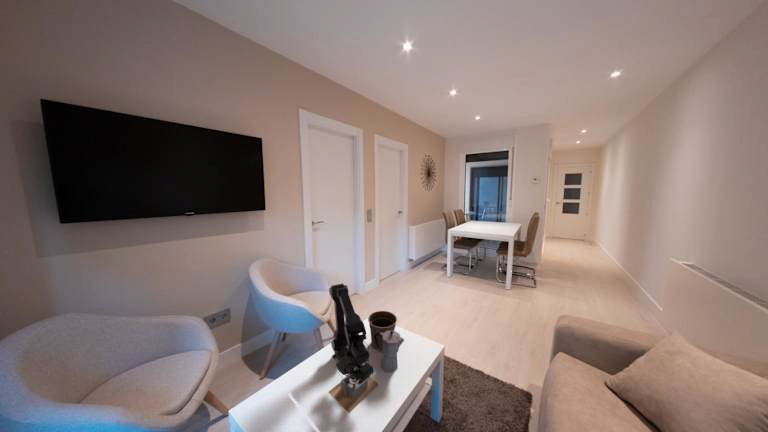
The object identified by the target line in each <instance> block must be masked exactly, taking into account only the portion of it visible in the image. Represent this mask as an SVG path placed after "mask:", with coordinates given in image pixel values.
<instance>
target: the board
mask: <svg viewBox="0 0 768 432" xmlns="http://www.w3.org/2000/svg"><path fill="white" fill-rule="evenodd" d="M367 380H368V387H367V388H366V389H365V390H364V391H363V392H362V393H361V394H360V395H359V396H358V397H357V398H356V399H355V400H352V399H351V398H350V397H349V396H345V395H344V394H343V390H342V389H341V381H340V382H339V383H337V384H336V385H335V386H334V387H333V388H331V389H330V390H329V391H328V393H329V395H331V397H332V398H333V399H334V400H336V402H337V403H338V404H339V405H340V406H341V407H342V408H343V409H344V410H345V411H346V412H347V413H348V414H351V412H352V411H353V410H354V409H356V407H357V406H359V404H361V403H362V402H363V401H364V400H365V399H366V398H367V397H368V396H369V395H370V394H371V393H372V392H373V391H374V390H375V389H376V388H377V387H378V386H379V385H380V384H379V383H378V382H377V381H376V380H375V379H373V378H372V377H371V375H370V376H369V377H368V378H367Z"/></svg>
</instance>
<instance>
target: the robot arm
mask: <svg viewBox="0 0 768 432" xmlns="http://www.w3.org/2000/svg"><path fill="white" fill-rule="evenodd" d="M328 292H329V296H330V298H331V300H332V301H333V302H334V317H335V331H334V333H333V340H331V341H330V345H331V348H332V350H333V352H334V353H333V355H331V357H332V359H334V360H337V362H336V364H335V367H336V368H337V371H338V372H340V373H341V375H342V376H343V375H344V376H345V375H349V374H350V373H351V371H353V370H355V371H354V372H353V373H354V374H355V379H356V382H357V381H358V380H359V378H361V379H362V380H366V379H367V378H368V377H369V376H370V377H371V375H373V374H374V370H375V369H374V366H373V365H371V364H370V363H368V361H369V359H370V352H369V350H368V349H367V347H366V345H365V344H364V340H367V331H366V327H365V323H364V321H363V320H362V319H361V317H360V314H359V315H358V314H357V313H356V312H355V309H354V307H353V304H352V303H353V302H352V301H351V298H350V294H349V288H348V285H344V283H339V284H334V285H333V284H332V285H331V286H330V288H329V289H328ZM361 333H362V334H361Z"/></svg>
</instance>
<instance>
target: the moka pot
mask: <svg viewBox="0 0 768 432" xmlns="http://www.w3.org/2000/svg"><path fill="white" fill-rule="evenodd" d="M377 335H378V336H380V337H382V343H383V352H382V354H381V359H380V369H381V370H382V371H383V372H386V373H389V374H391V373H393V372H395V371H397V370H398V365H399V364H398V352H399V349H400V347H401V345H402V344H403V343H404V342H405V339H404V337H402V336H401V334H400V333H399V332H397V331H396V330H394V331H386V332H384V333H382V332H381V333H380V332H377V333H376V334H375V335H374V338H375V342H376V345H377V348H378V349H382V348H381V347H379V345H378V341H377V337H376V336H377Z"/></svg>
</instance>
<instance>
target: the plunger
mask: <svg viewBox="0 0 768 432" xmlns="http://www.w3.org/2000/svg"><path fill="white" fill-rule="evenodd" d="M355 370H356V369H354V370H353V371H351V373H350V379H349V383H348V384H347V385H348V386H349V387H351V388H352V389H353V390H354V389H356V388H357V387H358V386H359V385H360V384H361V382H359V380H358V381H357V382H356V379H355V374H354V373H353V372H354V371H355Z"/></svg>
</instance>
